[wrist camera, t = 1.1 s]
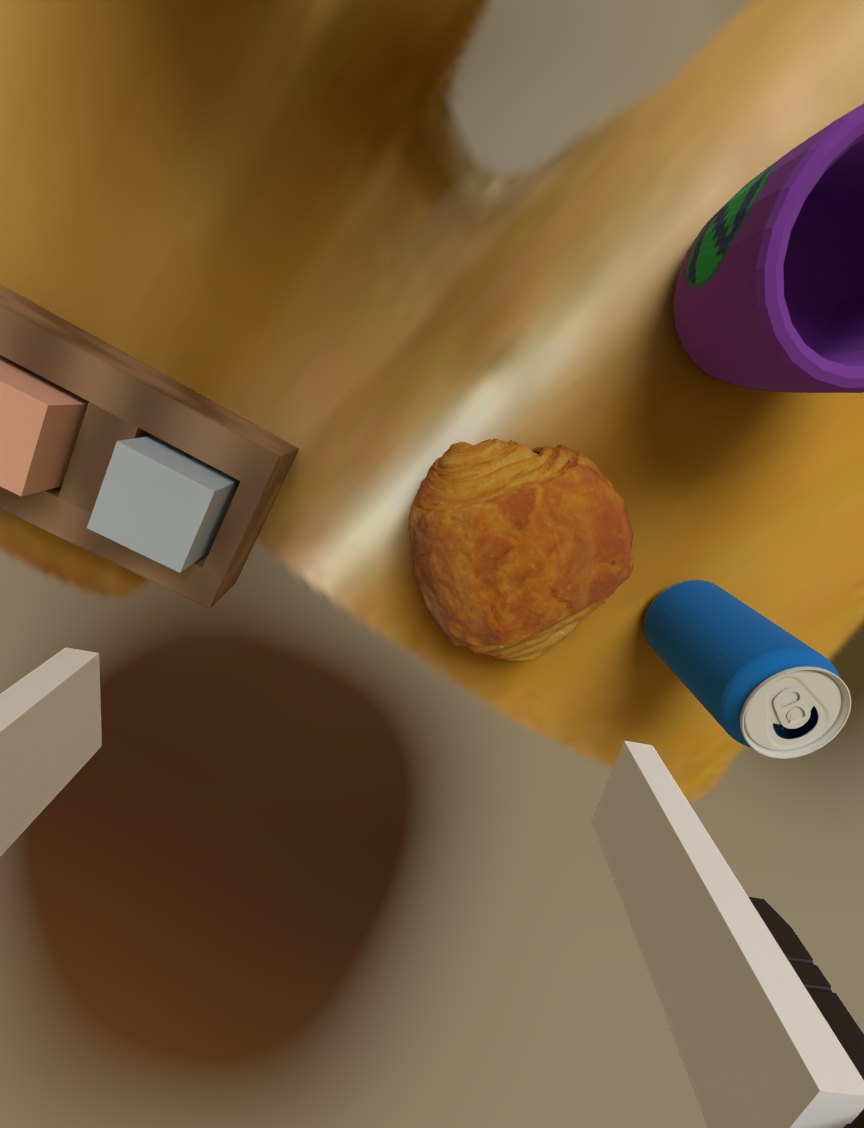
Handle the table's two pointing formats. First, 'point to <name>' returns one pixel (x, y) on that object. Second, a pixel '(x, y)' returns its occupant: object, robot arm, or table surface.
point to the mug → (784, 273)
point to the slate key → (161, 502)
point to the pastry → (516, 545)
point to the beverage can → (747, 670)
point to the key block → (132, 410)
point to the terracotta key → (35, 429)
